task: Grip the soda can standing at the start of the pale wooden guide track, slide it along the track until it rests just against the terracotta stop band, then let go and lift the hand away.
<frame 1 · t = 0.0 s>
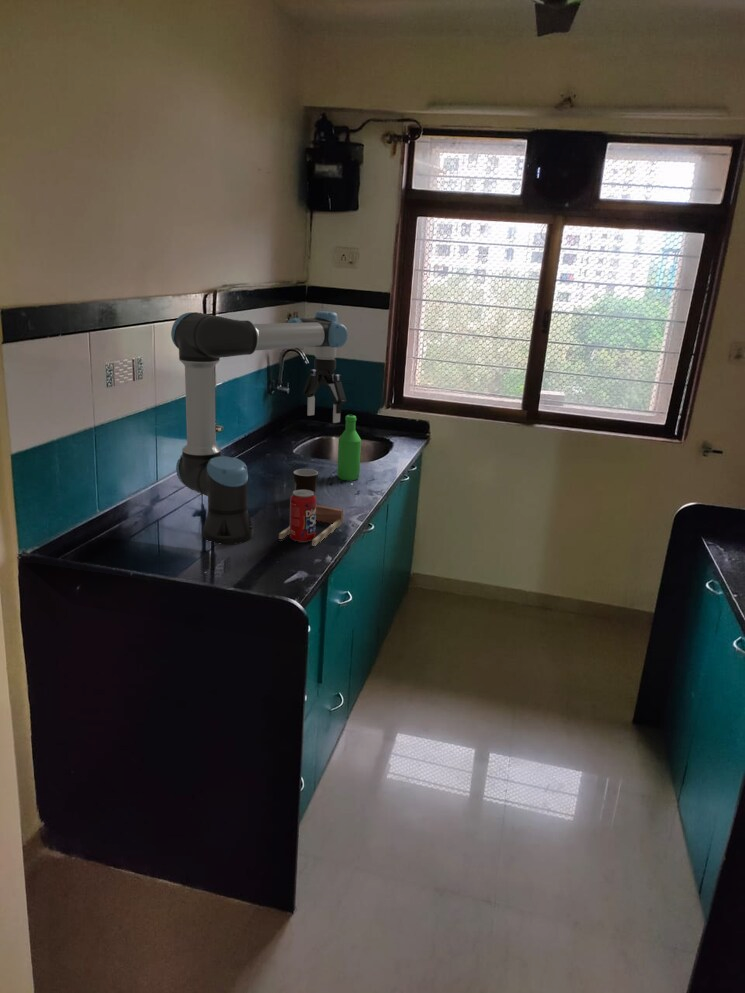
hand: (323, 418, 249), 28 cm above the counter, tool pointing down, fingers open, 13 cm apart
guide track: (302, 538, 216), on the counter
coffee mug: (306, 498, 253), on the counter
soda can: (302, 539, 216), on the counter
bottle: (348, 478, 278), on the counter
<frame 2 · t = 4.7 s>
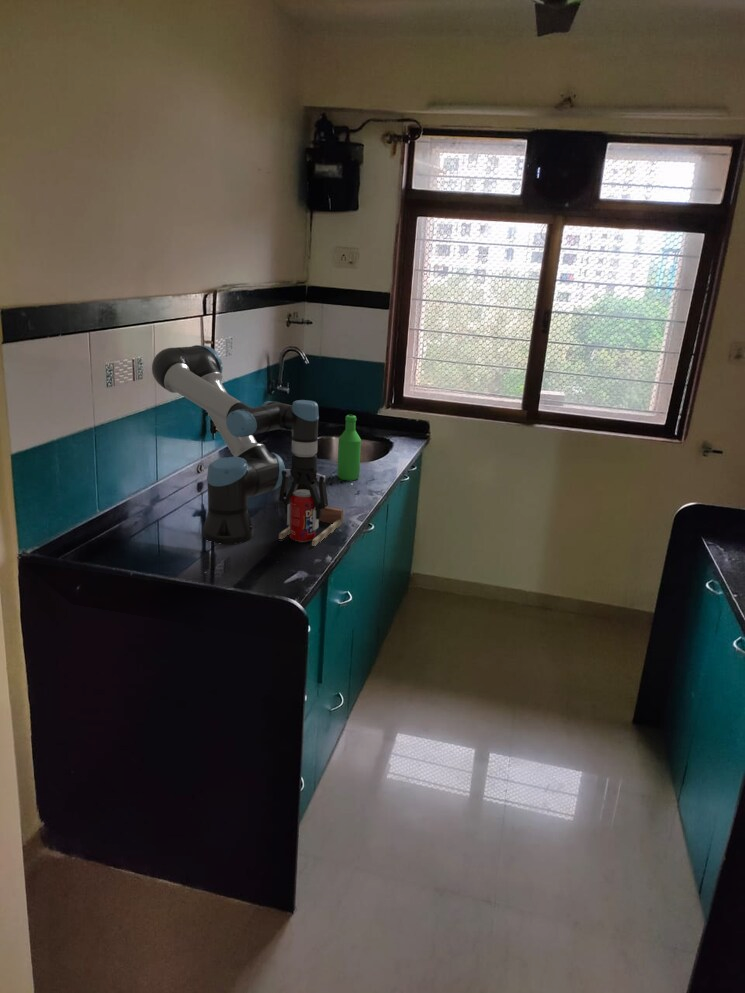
hand: (302, 526, 214), 4 cm above the counter, tool pointing down, fingers closed on soda can, 8 cm apart
soda can: (302, 539, 216), on the counter, touching gripper
everything else where it was.
when the fingers open (4 cm above the counter, at t = 9.5 s): soda can stays where it is, on the counter.
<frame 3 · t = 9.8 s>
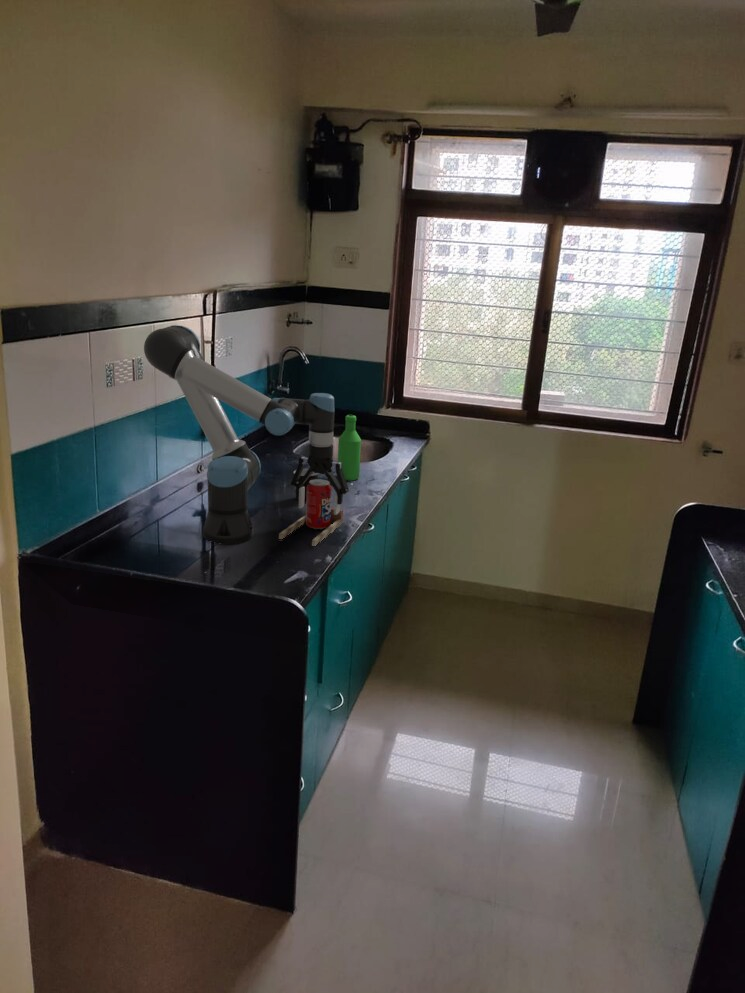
hand: (318, 510, 225), 5 cm above the counter, tool pointing down, fingers open, 11 cm apart
soda can: (318, 527, 227), on the counter
everything else where it was.
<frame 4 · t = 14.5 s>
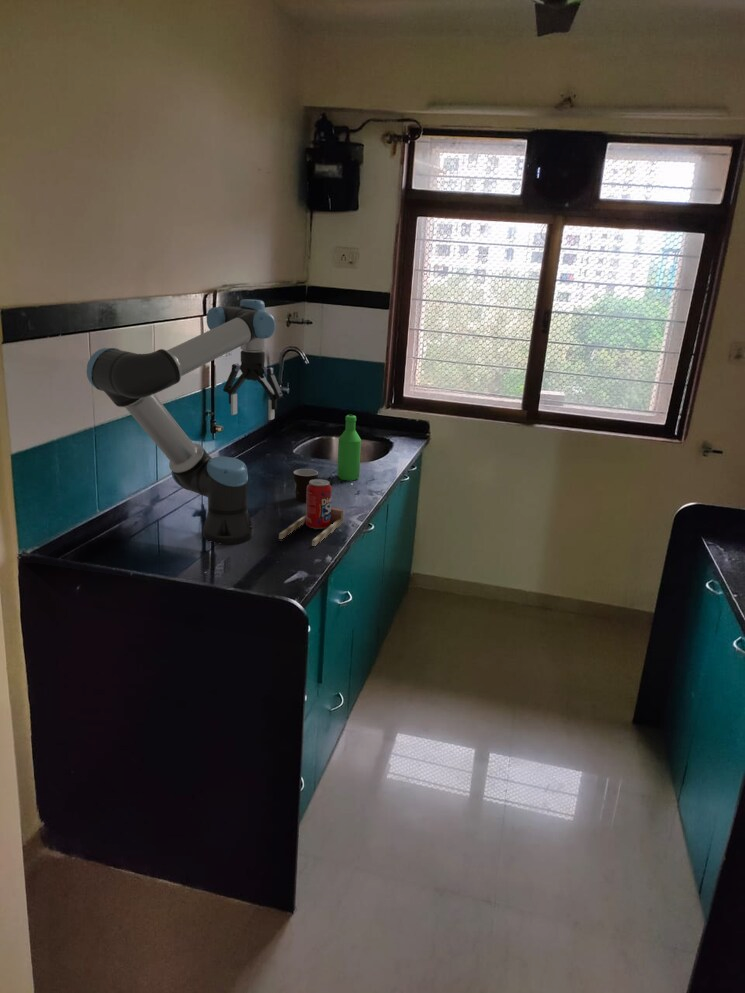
hand: (252, 416, 229), 32 cm above the counter, tool pointing down, fingers open, 13 cm apart
nothing on the counter moved.
at the end: soda can 0.1 cm from the target spot, on the counter; soda can tilted 0°; the gripper is holding nothing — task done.
